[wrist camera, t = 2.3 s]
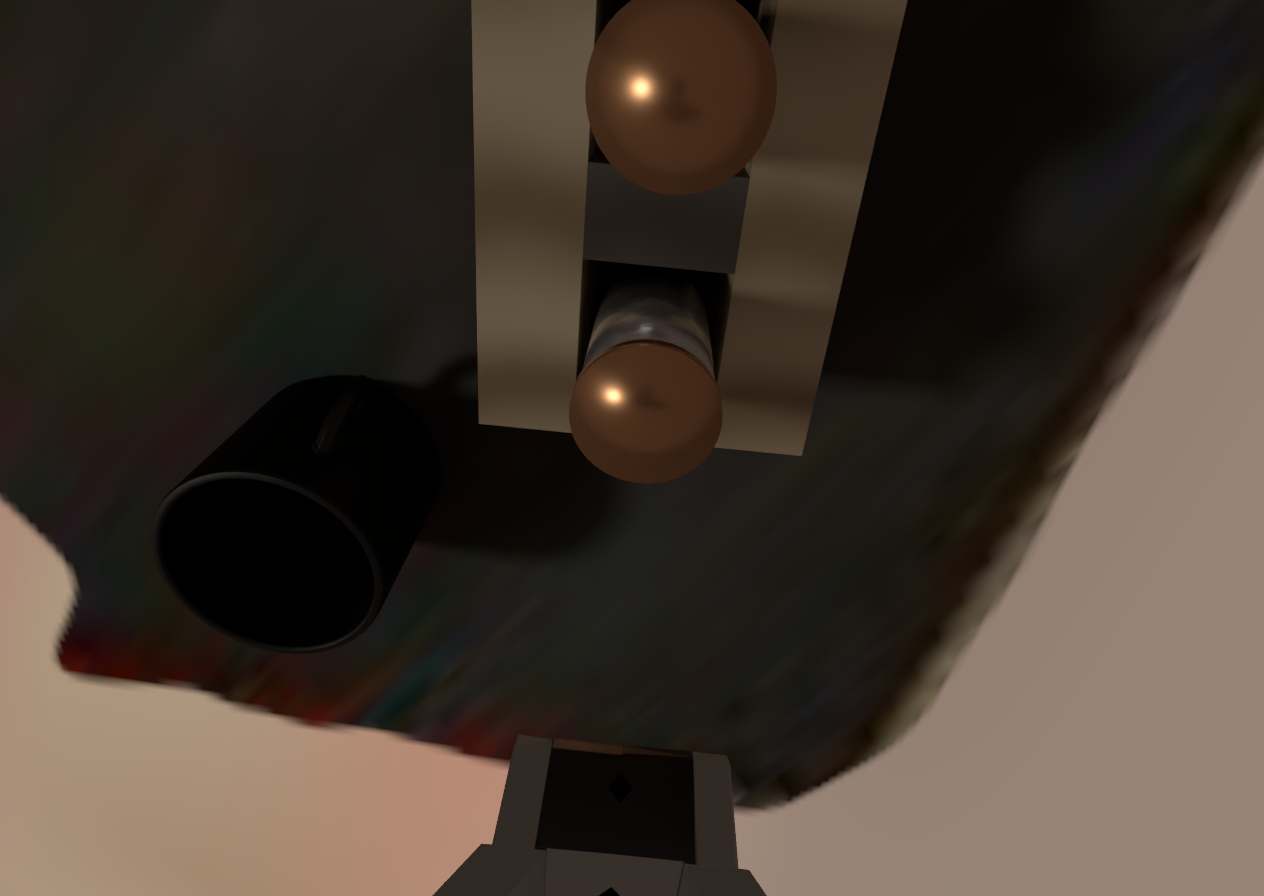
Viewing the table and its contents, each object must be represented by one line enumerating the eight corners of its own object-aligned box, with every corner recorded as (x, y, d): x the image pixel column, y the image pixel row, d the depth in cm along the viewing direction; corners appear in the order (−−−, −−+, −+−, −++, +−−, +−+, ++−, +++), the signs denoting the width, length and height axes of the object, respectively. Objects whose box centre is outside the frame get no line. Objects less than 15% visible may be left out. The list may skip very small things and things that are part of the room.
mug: (489, 384, 36) (437, 486, 28) (408, 558, 41) (345, 684, 33) (298, 293, 34) (184, 374, 26) (240, 488, 39) (131, 603, 31)
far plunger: (597, 259, 26) (572, 338, 19) (718, 271, 26) (733, 354, 19) (590, 370, 28) (565, 475, 21) (702, 381, 28) (711, 490, 21)
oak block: (523, -75, 26) (469, -112, 20) (857, -42, 27) (923, -66, 20) (518, 343, 34) (478, 423, 27) (775, 369, 34) (801, 455, 27)
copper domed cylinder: (615, -10, 22) (591, -27, 15) (757, 4, 22) (793, -6, 15) (605, 142, 24) (580, 186, 17) (735, 155, 24) (758, 203, 17)
